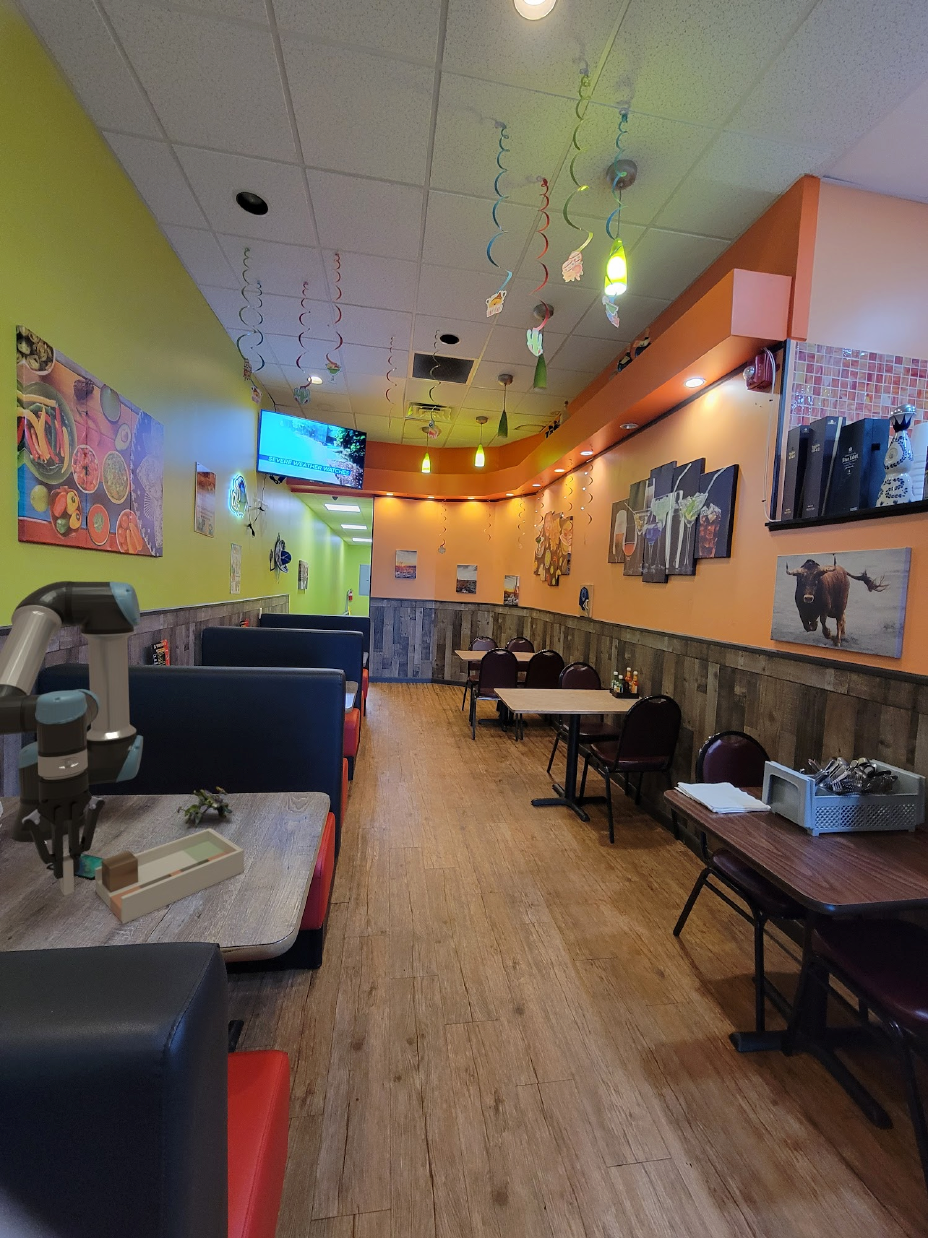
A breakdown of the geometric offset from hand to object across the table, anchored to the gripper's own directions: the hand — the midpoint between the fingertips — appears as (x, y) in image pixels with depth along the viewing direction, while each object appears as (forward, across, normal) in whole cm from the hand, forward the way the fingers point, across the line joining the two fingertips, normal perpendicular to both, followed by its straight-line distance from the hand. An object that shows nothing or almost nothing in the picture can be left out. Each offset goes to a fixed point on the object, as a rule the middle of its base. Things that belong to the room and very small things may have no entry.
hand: (67, 891), depth 100 cm
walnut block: (+2, +9, 0) cm, 9 cm away
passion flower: (+5, +35, +19) cm, 41 cm away
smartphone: (+6, +7, +18) cm, 20 cm away
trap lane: (+5, +18, -3) cm, 19 cm away
